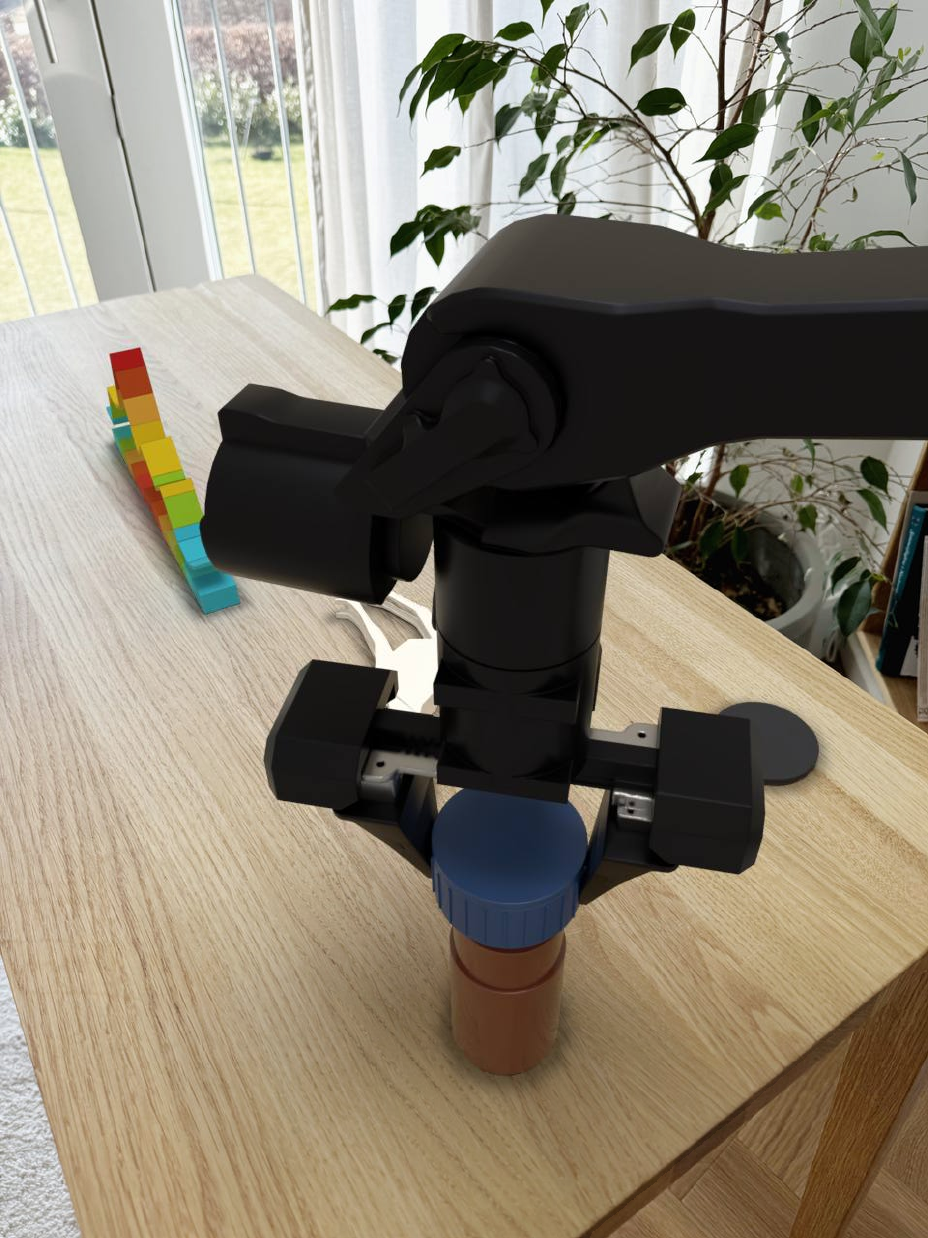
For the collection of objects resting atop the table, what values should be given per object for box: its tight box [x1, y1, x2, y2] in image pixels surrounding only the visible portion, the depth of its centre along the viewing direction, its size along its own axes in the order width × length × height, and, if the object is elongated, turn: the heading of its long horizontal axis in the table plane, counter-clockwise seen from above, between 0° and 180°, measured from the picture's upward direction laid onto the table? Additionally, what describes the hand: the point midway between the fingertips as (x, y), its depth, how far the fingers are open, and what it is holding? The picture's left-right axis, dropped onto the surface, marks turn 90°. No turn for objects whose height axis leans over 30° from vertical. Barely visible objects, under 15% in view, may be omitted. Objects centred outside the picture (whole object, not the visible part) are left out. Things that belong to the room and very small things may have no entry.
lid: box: [431, 788, 589, 949], centre depth 42 cm, size 7×7×3 cm
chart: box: [105, 347, 241, 615], centre depth 84 cm, size 30×3×15 cm, turn 28°
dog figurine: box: [334, 590, 438, 715], centre depth 70 cm, size 2×13×20 cm
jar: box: [448, 925, 567, 1076], centre depth 48 cm, size 6×6×11 cm
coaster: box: [717, 701, 820, 786], centre depth 66 cm, size 7×7×1 cm
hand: (508, 883), depth 43 cm, fingers closed on lid, 6 cm apart
